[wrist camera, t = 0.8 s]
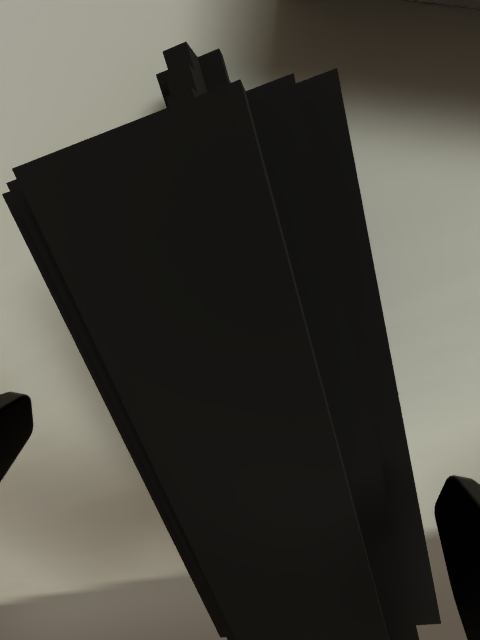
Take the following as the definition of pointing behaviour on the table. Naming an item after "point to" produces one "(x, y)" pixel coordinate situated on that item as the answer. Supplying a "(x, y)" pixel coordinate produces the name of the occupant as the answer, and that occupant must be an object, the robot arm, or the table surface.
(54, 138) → the table surface
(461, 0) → the gray open-top storage bin
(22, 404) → the robot arm
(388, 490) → the black stepped block
